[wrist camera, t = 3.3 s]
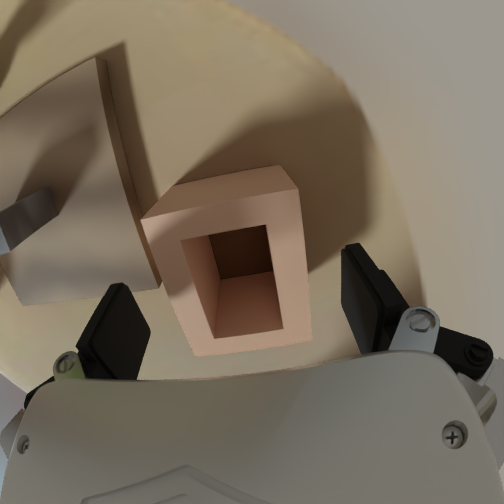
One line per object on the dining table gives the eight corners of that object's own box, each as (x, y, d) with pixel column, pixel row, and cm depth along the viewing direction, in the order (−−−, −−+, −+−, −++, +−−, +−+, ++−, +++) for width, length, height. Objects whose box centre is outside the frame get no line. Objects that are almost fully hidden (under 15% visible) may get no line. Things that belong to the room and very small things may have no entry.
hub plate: (163, 276, 20) (136, 345, 13) (30, 297, 21) (-6, 342, 14) (105, 60, 12) (40, 42, 6) (-24, 147, 13) (-77, 169, 7)
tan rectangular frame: (279, 164, 16) (298, 188, 11) (296, 282, 20) (312, 340, 15) (172, 186, 17) (140, 219, 11) (205, 296, 21) (195, 356, 15)
